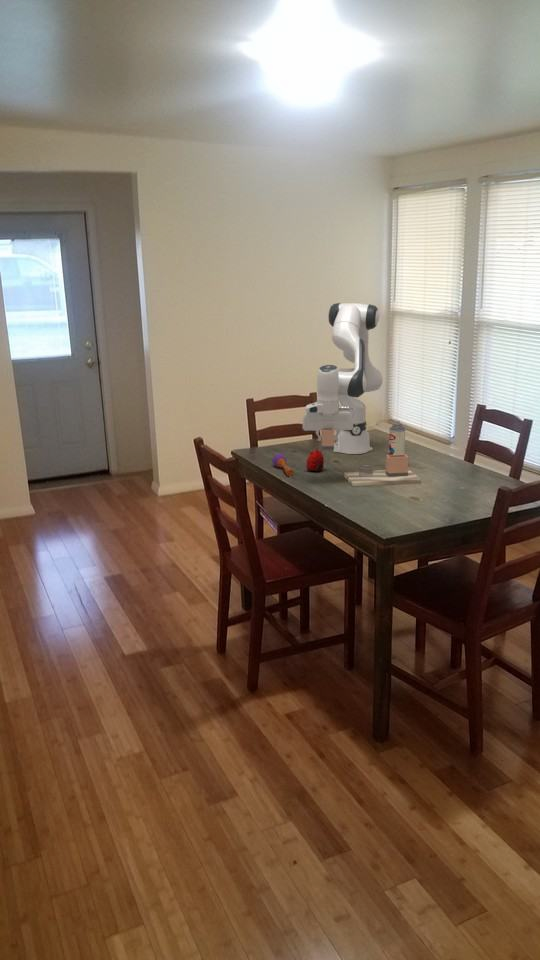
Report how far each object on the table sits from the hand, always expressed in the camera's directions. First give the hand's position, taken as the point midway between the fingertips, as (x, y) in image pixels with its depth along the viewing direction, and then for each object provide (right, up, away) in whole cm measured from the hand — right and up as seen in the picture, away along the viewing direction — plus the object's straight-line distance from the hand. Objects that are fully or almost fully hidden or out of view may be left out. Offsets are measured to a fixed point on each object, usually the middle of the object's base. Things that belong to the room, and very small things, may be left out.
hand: (327, 440), depth 297 cm
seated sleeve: (+29, -14, +7) cm, 33 cm away
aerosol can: (+32, -10, +26) cm, 42 cm away
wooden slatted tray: (+22, -15, +6) cm, 28 cm away
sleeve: (0, -3, +1) cm, 3 cm away
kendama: (-17, -12, +21) cm, 30 cm away
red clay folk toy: (-4, -12, +21) cm, 24 cm away
